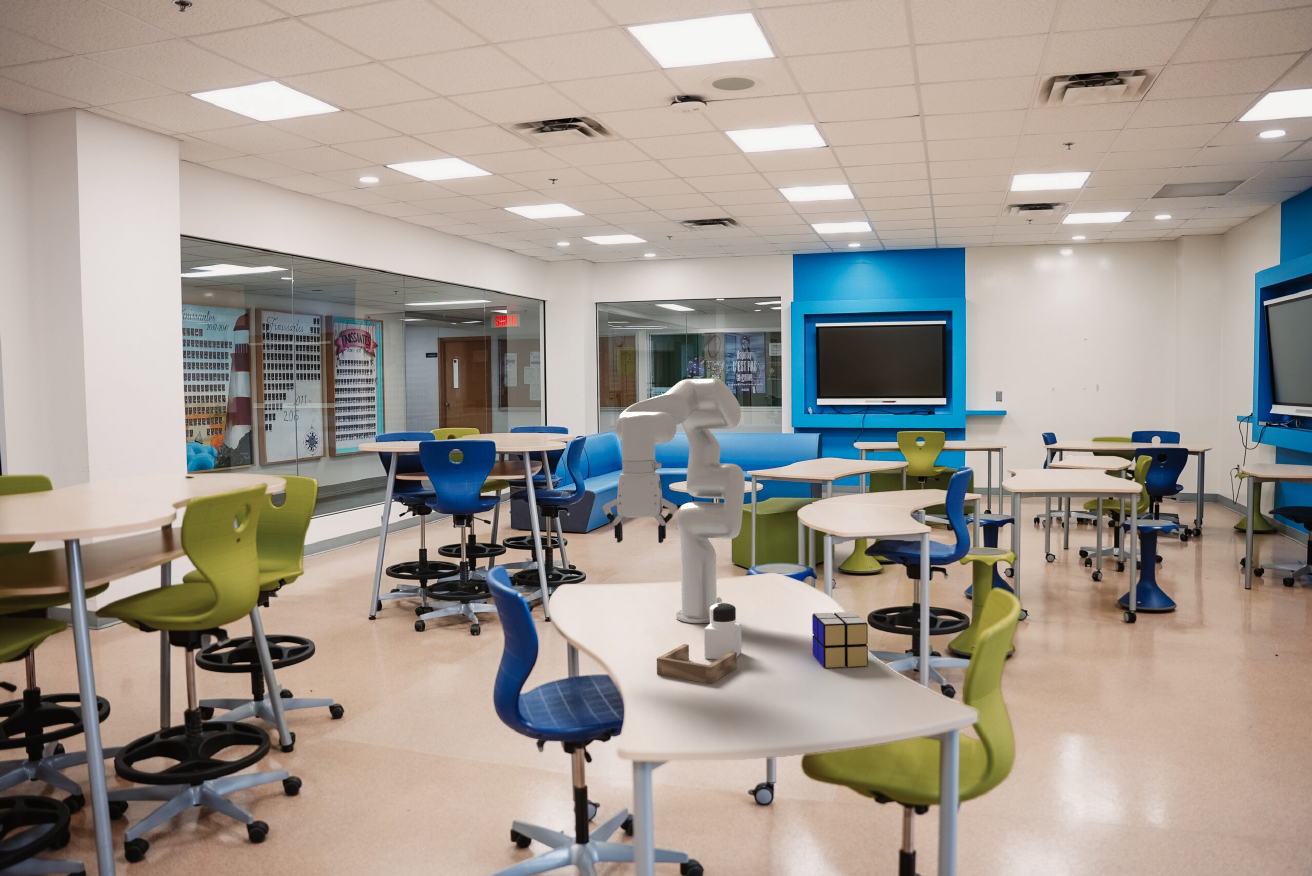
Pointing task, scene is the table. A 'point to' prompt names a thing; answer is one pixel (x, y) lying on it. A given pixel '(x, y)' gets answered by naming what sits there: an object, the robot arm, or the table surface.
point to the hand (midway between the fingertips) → (640, 541)
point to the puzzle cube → (840, 640)
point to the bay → (694, 666)
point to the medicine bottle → (722, 632)
